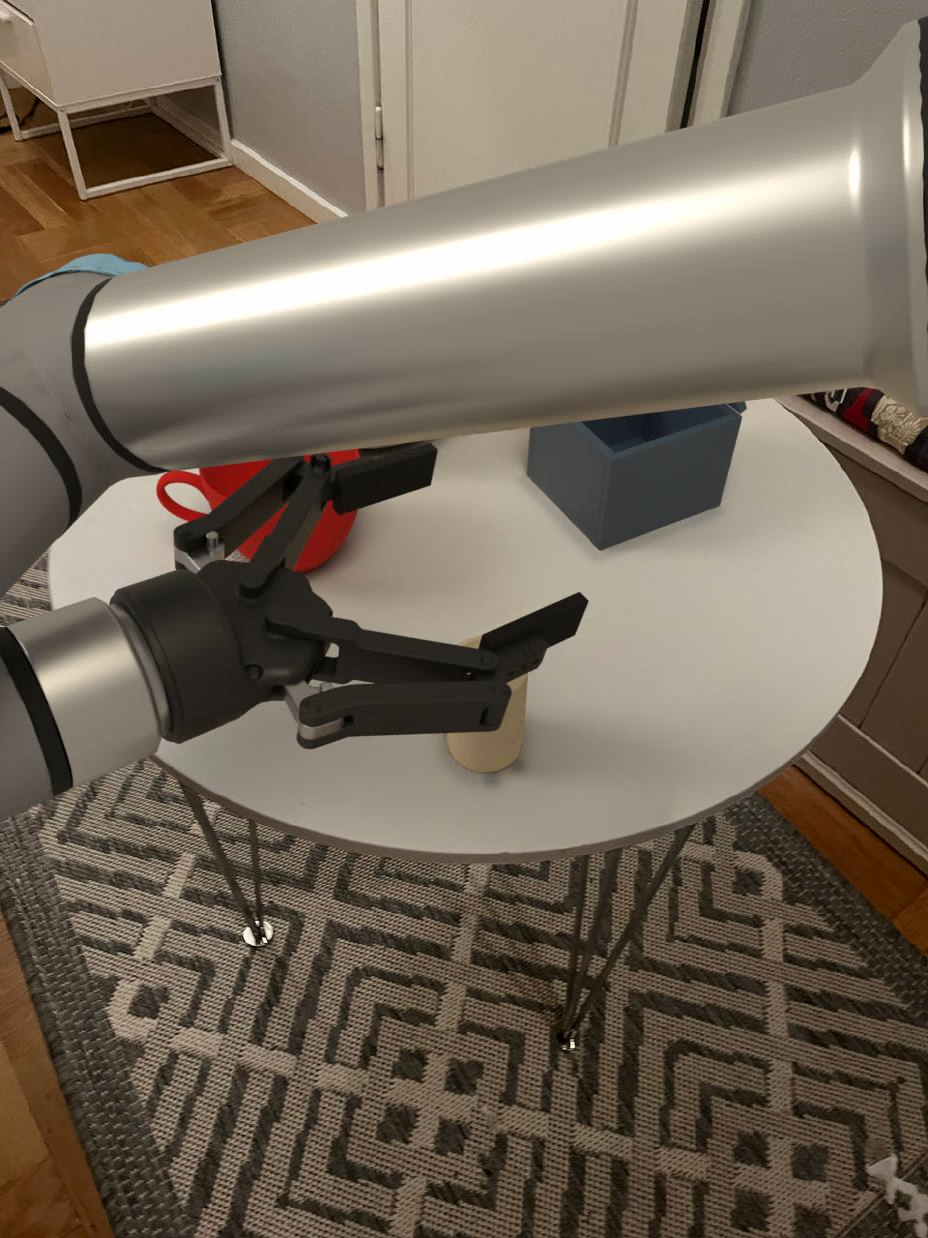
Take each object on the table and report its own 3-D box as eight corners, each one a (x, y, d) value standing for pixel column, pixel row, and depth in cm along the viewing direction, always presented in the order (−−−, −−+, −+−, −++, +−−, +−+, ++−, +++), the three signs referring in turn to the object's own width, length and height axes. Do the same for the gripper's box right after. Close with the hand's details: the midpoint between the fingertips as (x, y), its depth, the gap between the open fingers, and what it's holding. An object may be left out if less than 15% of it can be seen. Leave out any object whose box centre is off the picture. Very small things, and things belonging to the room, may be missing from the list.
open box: (599, 550, 85) (612, 460, 78) (526, 474, 92) (532, 386, 85) (720, 505, 89) (742, 416, 82) (640, 436, 97) (655, 349, 90)
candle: (435, 759, 69) (433, 667, 62) (463, 704, 72) (464, 611, 65) (507, 783, 67) (513, 692, 60) (532, 726, 71) (541, 633, 64)
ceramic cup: (183, 509, 88) (159, 417, 81) (366, 500, 89) (358, 408, 82) (165, 608, 79) (136, 514, 72) (369, 596, 80) (360, 502, 73)
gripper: (41, 557, 51) (372, 458, 62) (269, 935, 40) (627, 732, 50) (20, 445, 46) (386, 359, 57) (275, 844, 34) (675, 638, 45)
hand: (500, 534), depth 54 cm, fingers open, 13 cm apart
